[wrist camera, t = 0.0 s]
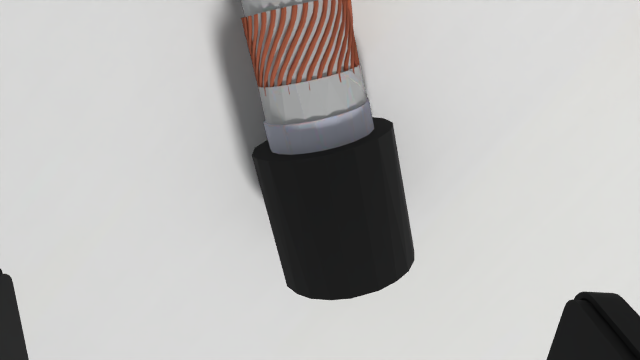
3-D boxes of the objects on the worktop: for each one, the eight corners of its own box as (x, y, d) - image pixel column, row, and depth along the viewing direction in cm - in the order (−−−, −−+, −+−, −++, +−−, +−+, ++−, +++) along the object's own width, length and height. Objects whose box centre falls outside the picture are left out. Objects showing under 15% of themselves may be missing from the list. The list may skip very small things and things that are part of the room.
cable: (280, -223, 34) (357, -324, 26) (367, 222, 44) (443, 258, 36) (132, -222, 30) (163, -341, 22) (265, 266, 41) (322, 318, 32)
